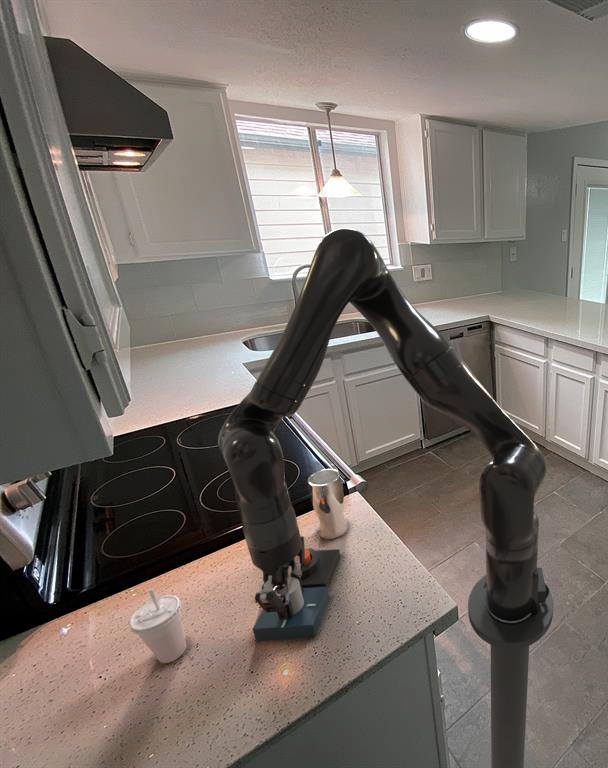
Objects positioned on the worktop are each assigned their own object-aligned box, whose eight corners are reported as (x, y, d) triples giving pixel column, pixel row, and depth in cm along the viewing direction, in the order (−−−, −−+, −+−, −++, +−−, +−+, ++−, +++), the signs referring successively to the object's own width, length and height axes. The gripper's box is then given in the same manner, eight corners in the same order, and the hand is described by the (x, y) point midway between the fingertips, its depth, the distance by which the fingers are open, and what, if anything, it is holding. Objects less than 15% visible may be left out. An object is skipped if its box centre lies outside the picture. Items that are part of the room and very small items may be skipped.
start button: (313, 554, 85) (312, 548, 84) (307, 568, 82) (305, 561, 81) (295, 555, 85) (294, 549, 84) (288, 569, 81) (286, 562, 81)
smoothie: (203, 646, 70) (179, 586, 65) (158, 679, 65) (129, 617, 60) (185, 628, 73) (161, 569, 68) (141, 658, 68) (111, 598, 63)
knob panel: (330, 597, 80) (327, 585, 78) (315, 637, 72) (312, 624, 71) (276, 600, 79) (273, 588, 78) (255, 641, 71) (251, 629, 70)
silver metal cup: (330, 545, 92) (319, 490, 86) (311, 533, 96) (299, 479, 90) (355, 526, 98) (347, 474, 92) (337, 516, 101) (327, 464, 95)
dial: (284, 598, 76) (278, 577, 74) (307, 595, 76) (301, 574, 74) (275, 617, 72) (269, 595, 70) (299, 615, 73) (294, 593, 71)
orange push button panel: (340, 556, 89) (338, 542, 88) (327, 591, 81) (323, 576, 79) (283, 559, 88) (279, 545, 87) (263, 595, 80) (259, 580, 78)
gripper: (268, 504, 74) (287, 574, 80) (224, 566, 61) (250, 644, 67) (311, 502, 74) (326, 572, 81) (276, 564, 61) (297, 641, 68)
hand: (292, 604), depth 74 cm, fingers closed on dial, 4 cm apart
